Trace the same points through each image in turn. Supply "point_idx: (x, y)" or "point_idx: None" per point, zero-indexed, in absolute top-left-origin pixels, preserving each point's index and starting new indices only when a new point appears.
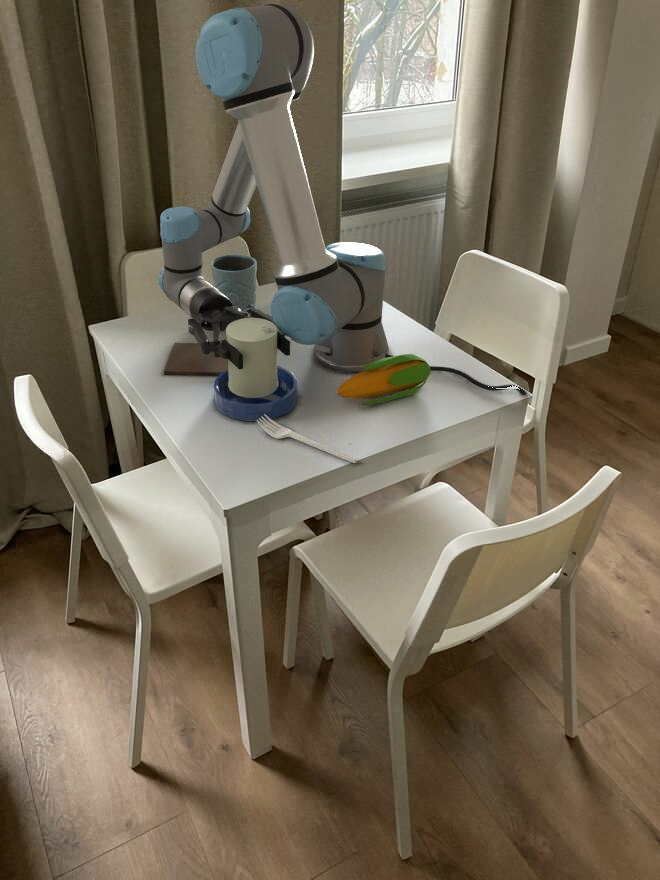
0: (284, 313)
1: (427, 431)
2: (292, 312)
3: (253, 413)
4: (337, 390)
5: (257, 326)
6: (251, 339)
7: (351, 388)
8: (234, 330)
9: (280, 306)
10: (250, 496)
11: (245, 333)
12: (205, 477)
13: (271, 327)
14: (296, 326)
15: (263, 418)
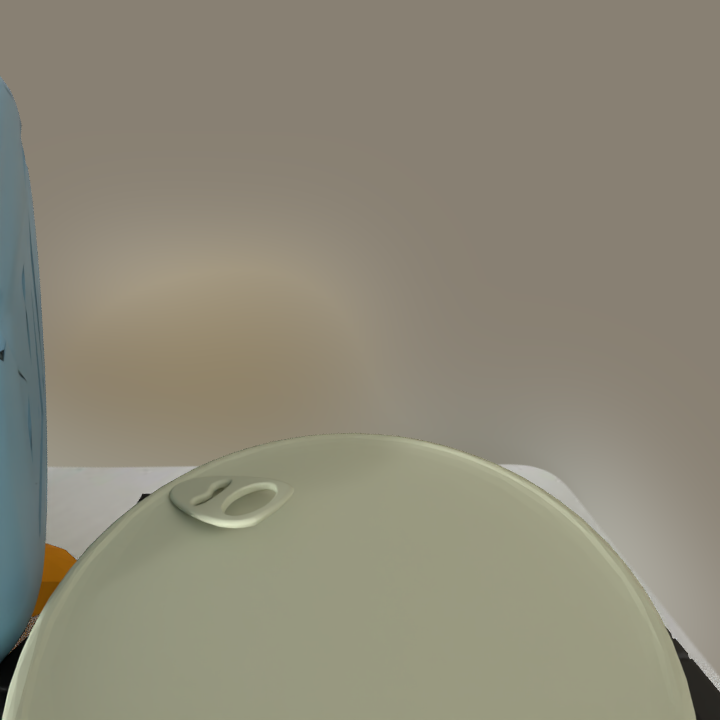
0: (20, 385)
1: (57, 467)
2: (28, 320)
3: None
4: None
5: (252, 615)
6: (420, 461)
7: (46, 544)
8: (556, 633)
9: (13, 321)
10: (501, 465)
11: (441, 536)
12: (604, 534)
13: (153, 539)
14: (38, 432)
15: None
